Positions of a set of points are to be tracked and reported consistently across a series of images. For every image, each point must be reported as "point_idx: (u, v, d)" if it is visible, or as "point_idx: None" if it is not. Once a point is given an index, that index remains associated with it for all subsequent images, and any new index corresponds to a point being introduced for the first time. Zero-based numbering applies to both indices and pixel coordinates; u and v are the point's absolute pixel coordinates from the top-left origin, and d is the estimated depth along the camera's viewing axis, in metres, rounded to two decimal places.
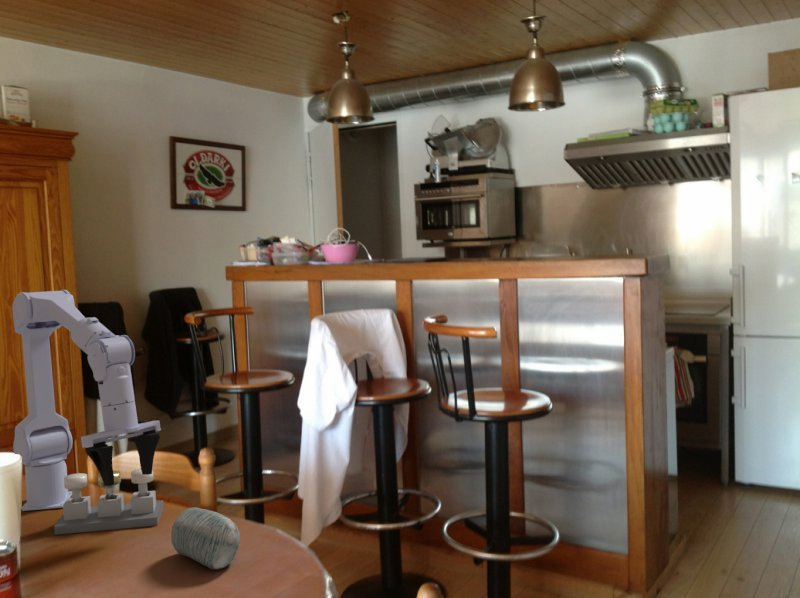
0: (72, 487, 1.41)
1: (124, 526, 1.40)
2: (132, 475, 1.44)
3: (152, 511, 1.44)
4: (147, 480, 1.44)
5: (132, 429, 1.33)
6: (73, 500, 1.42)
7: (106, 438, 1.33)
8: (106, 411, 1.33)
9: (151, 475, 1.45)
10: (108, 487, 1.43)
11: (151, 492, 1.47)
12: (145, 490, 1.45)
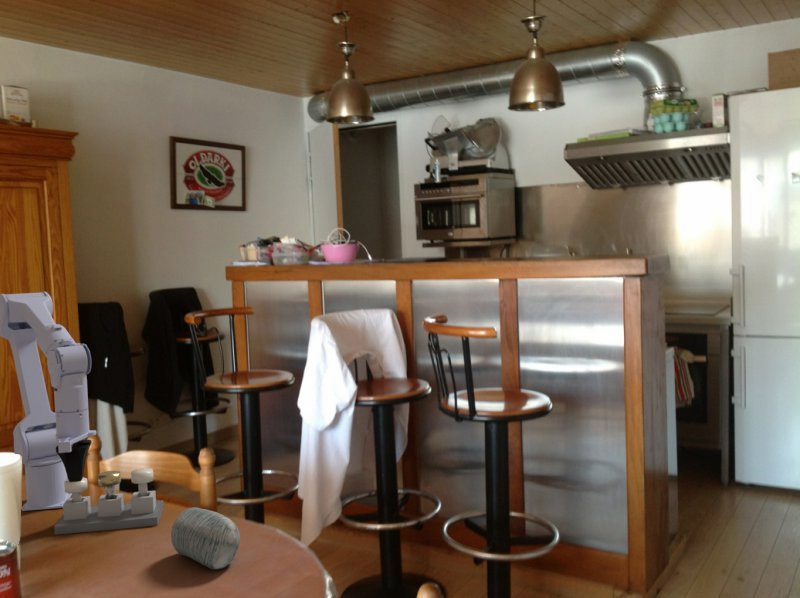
0: (72, 491, 1.41)
1: (124, 526, 1.40)
2: (132, 475, 1.44)
3: (152, 511, 1.44)
4: (147, 480, 1.44)
5: (95, 433, 1.43)
6: None
7: None
8: (72, 417, 1.39)
9: (151, 475, 1.45)
10: (108, 487, 1.43)
11: (151, 492, 1.47)
12: (145, 490, 1.45)
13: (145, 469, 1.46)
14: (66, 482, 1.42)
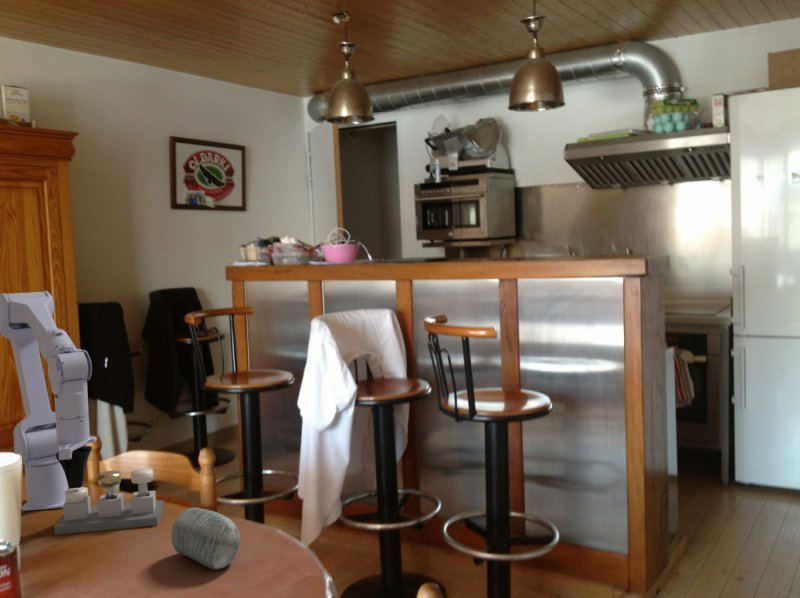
0: (73, 501, 1.41)
1: (124, 526, 1.40)
2: (132, 475, 1.44)
3: (152, 511, 1.44)
4: (147, 480, 1.44)
5: (95, 439, 1.43)
6: None
7: None
8: (72, 423, 1.40)
9: (151, 475, 1.45)
10: (108, 487, 1.43)
11: (151, 492, 1.47)
12: (145, 490, 1.45)
13: (145, 469, 1.46)
14: (67, 492, 1.42)
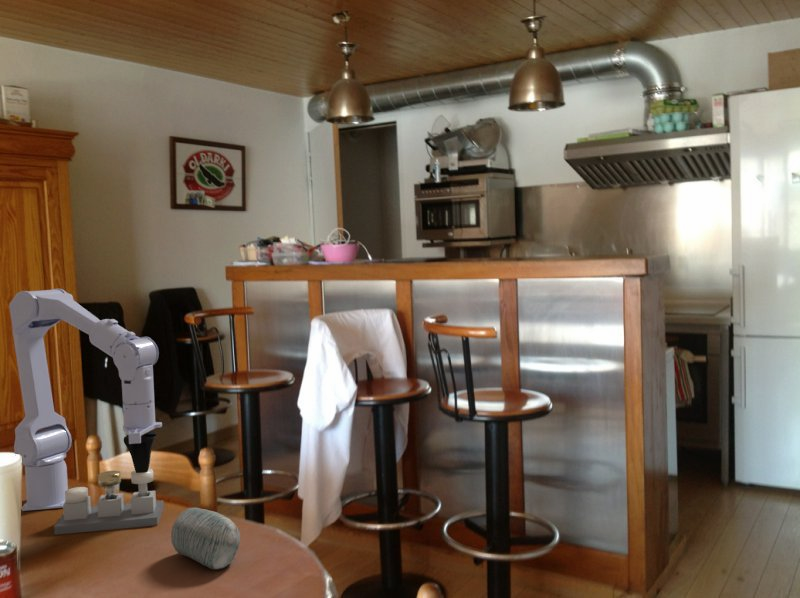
0: (73, 501, 1.41)
1: (124, 526, 1.40)
2: (132, 475, 1.44)
3: (152, 511, 1.44)
4: (147, 480, 1.44)
5: (161, 425, 1.45)
6: None
7: None
8: (140, 409, 1.42)
9: (151, 475, 1.45)
10: (108, 487, 1.43)
11: (151, 492, 1.47)
12: (145, 490, 1.45)
13: None
14: (67, 492, 1.42)
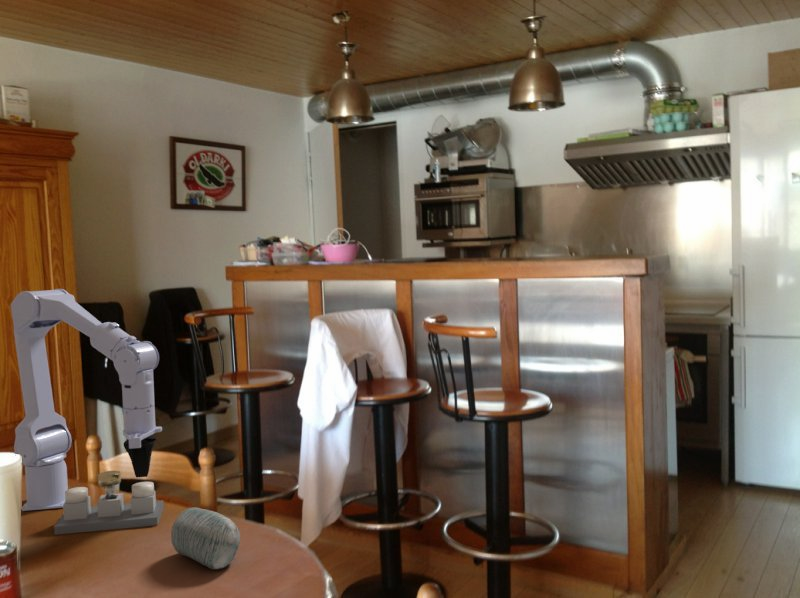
0: (73, 501, 1.41)
1: (124, 526, 1.40)
2: (133, 489, 1.44)
3: (152, 511, 1.44)
4: (148, 494, 1.44)
5: (161, 429, 1.45)
6: None
7: None
8: (140, 413, 1.42)
9: (152, 489, 1.45)
10: (108, 487, 1.43)
11: None
12: None
13: (145, 483, 1.46)
14: (67, 492, 1.42)
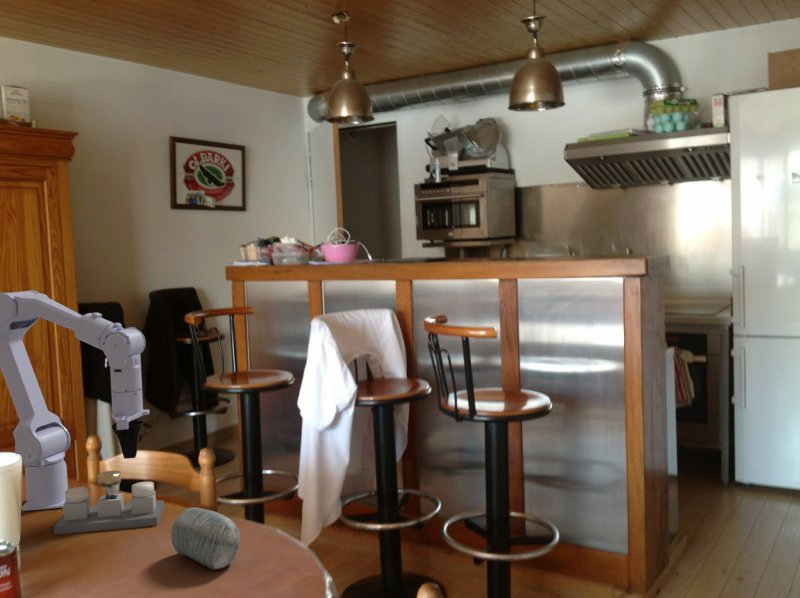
0: (73, 501, 1.41)
1: (124, 526, 1.40)
2: (133, 489, 1.44)
3: (152, 511, 1.44)
4: (148, 494, 1.44)
5: (148, 412, 1.50)
6: None
7: None
8: (127, 396, 1.47)
9: (152, 489, 1.45)
10: (108, 487, 1.43)
11: None
12: None
13: (145, 483, 1.46)
14: (67, 492, 1.42)
